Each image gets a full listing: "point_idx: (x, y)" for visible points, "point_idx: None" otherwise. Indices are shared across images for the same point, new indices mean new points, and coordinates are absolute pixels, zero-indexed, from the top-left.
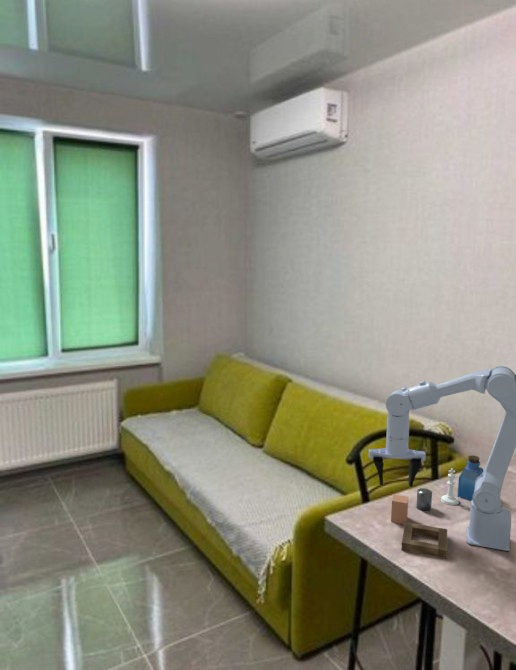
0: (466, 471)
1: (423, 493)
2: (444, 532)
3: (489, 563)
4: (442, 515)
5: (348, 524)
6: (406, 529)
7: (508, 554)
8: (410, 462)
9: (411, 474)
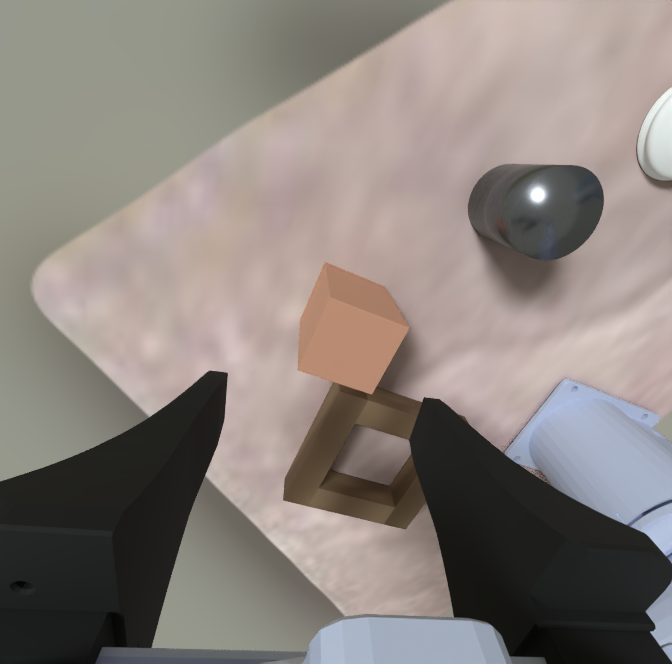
0: None
1: (533, 242)
2: None
3: None
4: (543, 277)
5: (109, 337)
6: (325, 436)
7: None
8: (505, 583)
9: (439, 543)
